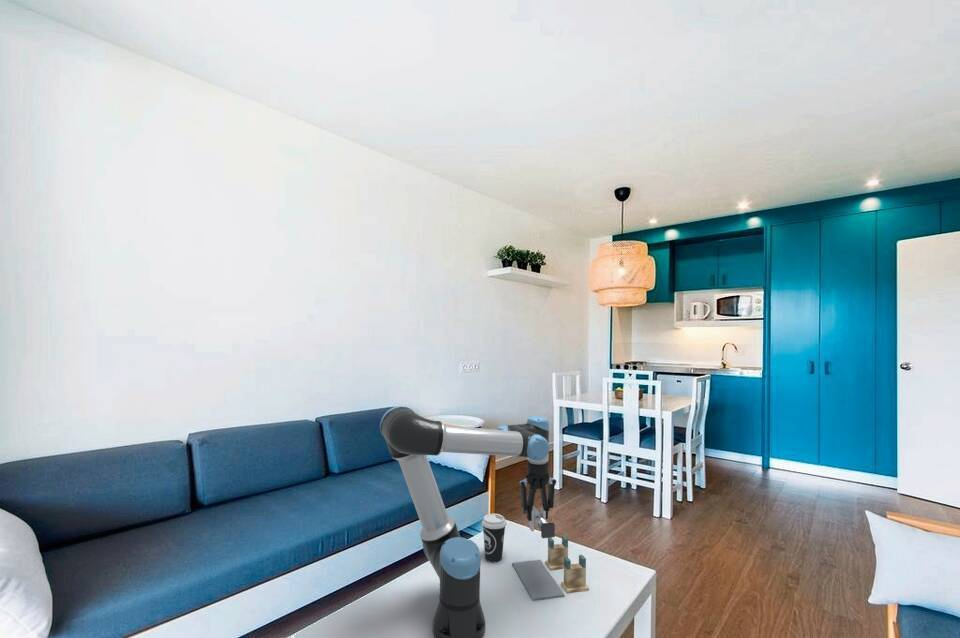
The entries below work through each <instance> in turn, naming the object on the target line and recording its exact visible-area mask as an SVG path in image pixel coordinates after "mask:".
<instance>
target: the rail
mask: <svg viewBox="0 0 960 638" xmlns="http://www.w3.org/2000/svg"><path fill="white" fill-rule="evenodd" d="M527 502H528V500H527ZM521 508H522V507H521ZM532 510H533V511H534V525H536V526H537V528H538V530H540V531H541V533H540V537H541V538H542V539H548V538H555V534H556V533H555V532H556V530H555V527H556V526H555V523H554V522H549V521H548V519H545V518H544V517H543V516H542V515H541V512H540V511H539V510H538V508H536V507H535V501H534V502H533V508H532ZM521 513H522V514H523V515H527V511H525V510H524V509H523V508H522V510H521Z"/></svg>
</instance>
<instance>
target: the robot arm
mask: <svg viewBox="0 0 960 638" xmlns="http://www.w3.org/2000/svg"><path fill="white" fill-rule="evenodd" d="M549 428H550V424H549V419H548V418H547V417H545V416H540V415H539V416H538V415H535V416H534V415H532V416H528V417H527V421H526V423H521V424H505V425H500V426H498V427H496V429H493V428H491V429H490V428H482V427H481V428H479V427H469V426H457V425H447V424H444V423H443V422H442V421H441V420H440V421H439V420H433V419H429V418H425V417H423V416H421V415H419V414H417V413H416V412H415V411H414V410H413V409H412V408H410V407H407V406H402V405H401V406H400V405H399V406H394V407H391V408H389V409H388V410H387V411H386V412H385V413H384V414H383V415H382V417H381V419H380V422H379V430H380V433H381V436H382V438H384V440H385V442H386V445H387V448H388V451H389V454H390V457H391V458H392V459H393V460H396V461H398V464H399V466H400V469H401V472H402V474H403V477H404V480H405V484H406V485H407V489H408V491H409V494H410V496H411V500H412V502H413V505H414V508H415V511H416V514H417V516H418V519H419V521H420V525H421V527H422V528H421V530H420V533H419V536H420V539H421V542H422V549H423V552H424V553H423V554H424V556H425V557H426V558H427V560H428V561H429V563H430V564H431V566H432V568H433V569H434V571H435V574H436V575H437V576H438V578H439V602H438V605H437V608H436V611H435V614H434V617H433V621H432V634H433V636H434V638H483V637H484V635H485V633H486V618H485V615H484V611H483V608H482V605H481V604H482V603H481V600H480V597H481V595H480V589H481V564H482V563H481V561H482V560H481V552H480V548H479V546H478V545H477V544H476V542H474V541H473V540H471V539H467V538H465V537H461V535H460V532H459V529H458V526H457V523H456V521H455V519H454V517H452V516H450V515H448V512H447V509H446V507H445V504H444V501H443V498H442V495H441V493H440V492H441V491H440V490H439V487H438V484H437V481H436V478H435V476H434V472H433V470H432V468H431V467H432V466H431V464H430V461H429V458H428V456H439V455H440V454H442V453H453V454H466V455H467V454H468V455H486V456H488V455H489V456H502V457H503V456H504V457H519V458H526V460H527V462H526V473H527V474H526V476H525V478H524V479H520V480H518V483H519V486H520V498H521V499H520V501H521V502H520V503H521V508H523V509H524V510H525V511H527V514H526V519H527V521H528V528H529V530H530V531H531V532H534V531H535V523H534V511H533V510H532V508H533V502H534V503H535V497H536V493H537V490H538V489H539V491H540V493H539V494H540V499H541V503H542V507H540V514H541V515H542V516H543V517H544V518H545V519H546V520H548V519H549V511H550V509H553V508H554V503H555V501H554V499H555V486H556V485H557V479H555V477H550V475H549V451H550V445H549V444H550V441H549V440H550V429H549ZM528 484H529V491H528V497H527V486H528ZM547 484H548V487H547V488H548V489H546V486H547ZM547 490H548V491H547ZM527 501H528V502H527Z"/></svg>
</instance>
